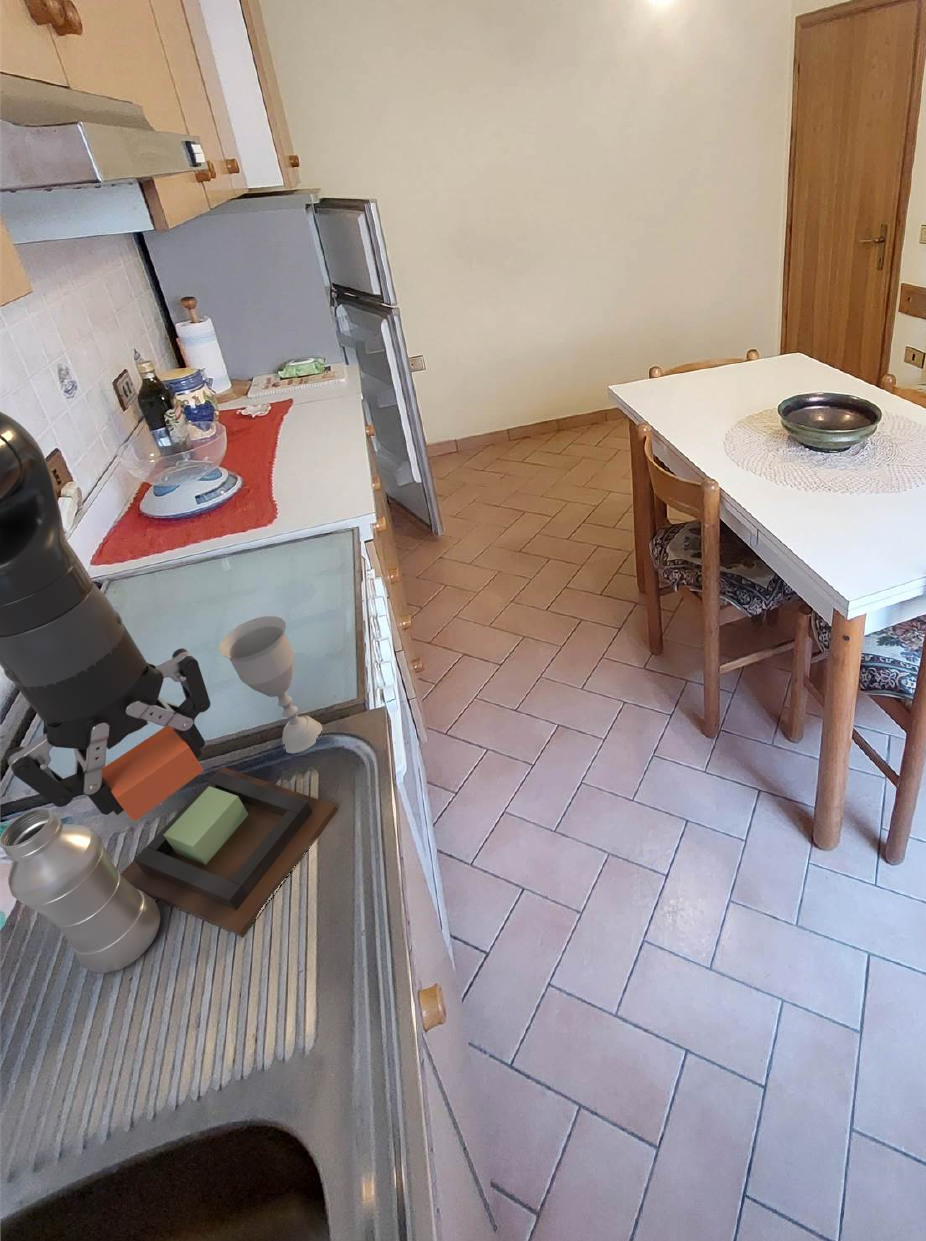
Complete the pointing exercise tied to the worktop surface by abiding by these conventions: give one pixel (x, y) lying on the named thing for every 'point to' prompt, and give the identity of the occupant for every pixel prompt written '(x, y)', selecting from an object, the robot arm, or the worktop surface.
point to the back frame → (234, 854)
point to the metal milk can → (79, 890)
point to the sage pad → (206, 825)
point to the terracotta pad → (151, 772)
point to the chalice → (270, 673)
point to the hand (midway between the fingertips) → (157, 779)
